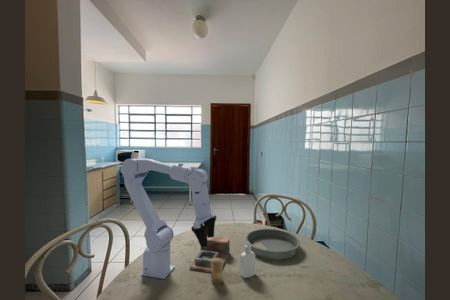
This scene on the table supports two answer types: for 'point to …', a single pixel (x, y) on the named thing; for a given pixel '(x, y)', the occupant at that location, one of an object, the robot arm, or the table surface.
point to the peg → (216, 270)
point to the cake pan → (273, 243)
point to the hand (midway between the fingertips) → (207, 241)
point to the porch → (211, 253)
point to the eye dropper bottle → (247, 262)
